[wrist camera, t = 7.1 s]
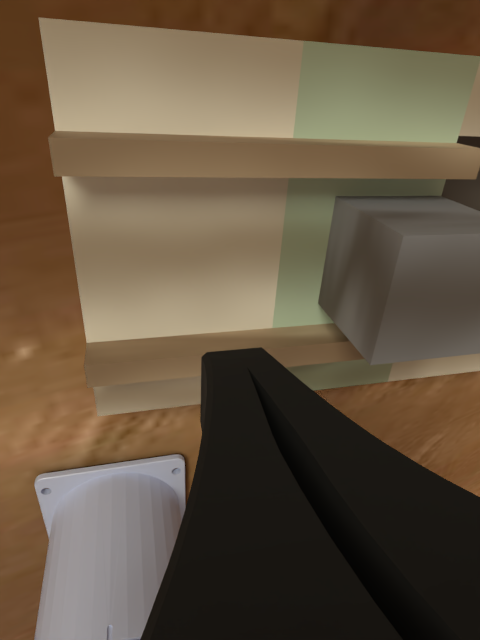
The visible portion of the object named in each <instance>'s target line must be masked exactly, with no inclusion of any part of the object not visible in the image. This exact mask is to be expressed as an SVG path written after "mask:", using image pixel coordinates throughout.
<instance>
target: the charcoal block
mask: <svg viewBox="0 0 480 640" xmlns="http://www.w3.org/2000/svg"><path fill="white" fill-rule="evenodd" d="M318 304H319V305H320V306H321V308H322V309H323V310H324V311H325V312H326V313H327V315H328V316H329V317H330V318H331V319H332V321H333V322H334V323H335V324H336V325H337V326H338V328H339V329H340V330H341V331H342V332H343V333H344V335H345V336H346V337H347V338H348V339H349V341H350V342H351V343H352V344H353V345H354V346H355V348H356V349H357V350H358V351H359V352H360V354H361V355H362V356H363V357H364V358H365V359H366V361H367V362H368V363H369V364H370V365H377V364H387V363H396V362H405V361H414V360H424V359H433V358H442V357H452V356H461V355H470V354H479V353H480V211H477V210H475V209H472V208H470V207H467V206H465V205H462V204H460V203H457V202H455V201H452V200H450V199H447V198H445V197H442V196H336V197H335V203H334V209H333V215H332V221H331V227H330V233H329V239H328V245H327V251H326V257H325V264H324V270H323V276H322V282H321V288H320V294H319V300H318Z"/></svg>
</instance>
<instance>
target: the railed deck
mask: <svg viewBox="0 0 480 640" xmlns="http://www.w3.org/2000/svg"><path fill="white" fill-rule="evenodd" d="M39 24H40V31H41V38H42V45H43V51H44V58H45V65H46V72H47V78H48V85H49V92H50V99H51V105H52V112H53V119H54V125H55V132H54V133H52V134H51V135H50V136H49V137H48V140H49V146H50V153H51V159H52V165H53V172H54V176H62V179H63V186H64V193H65V200H66V206H67V213H68V220H69V226H70V233H71V240H72V247H73V253H74V260H75V267H76V274H77V280H78V287H79V294H80V301H81V307H82V314H83V321H84V327H85V334H86V341H87V345H86V354H85V362H84V369H85V375H86V381H87V388H91V387H93V388H94V395H95V402H96V408H97V415H98V416H103V415H112V414H120V413H129V412H137V411H146V410H154V409H162V408H171V407H179V406H188V405H196V404H201V357H202V356H203V355H204V354H205V353H206V352H214V351H225V350H236V349H247V348H259V347H262V348H263V349H264V350H265V351H267V352H268V353H269V354H270V355H271V356H273V357H274V358H275V359H276V360H277V361H278V362H279V363H281V364H282V365H283V366H284V367H285V368H286V369H288V370H289V371H290V372H291V373H292V374H294V375H295V376H296V377H297V378H298V379H299V380H301V381H302V382H303V383H304V384H305V385H307V386H308V387H309V388H310V389H311V390H313V391H314V390H322V389H330V388H339V387H347V386H356V385H364V384H372V383H381V382H389V381H398V380H406V379H414V378H423V377H431V376H440V375H448V374H456V373H465V372H473V371H480V353H479V354H470V355H461V356H452V357H442V358H433V359H424V360H414V361H405V362H396V363H387V364H377V365H370V364H369V363H368V362H367V361H366V359H365V358H364V357H363V356H362V355H361V354H360V352H359V351H358V350H357V349H356V348H355V346H354V345H353V344H352V343H351V342H350V341H349V339H348V338H347V337H346V336H345V335H344V333H343V332H342V331H341V330H340V329H339V328H338V326H337V325H336V324H335V323H334V322H333V321H332V319H331V318H330V317H329V316H328V315H327V313H326V312H325V311H324V310H323V309H322V308H321V306H320V305H319V304H318V300H319V294H320V288H321V282H322V276H323V270H324V264H325V257H326V251H327V245H328V239H329V233H330V227H331V221H332V215H333V209H334V203H335V197H336V196H442V197H445V198H447V199H450V200H452V201H455V202H457V203H460V204H462V205H465V206H467V207H470V208H472V209H475V210H477V211H480V56H469V55H458V54H446V53H435V52H424V51H412V50H401V49H390V48H378V47H367V46H355V45H344V44H333V43H321V42H310V41H299V40H287V39H276V38H264V37H253V36H242V35H230V34H219V33H208V32H196V31H185V30H174V29H162V28H151V27H139V26H128V25H117V24H105V23H94V22H83V21H71V20H60V19H49V18H39Z"/></svg>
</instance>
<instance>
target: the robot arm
mask: <svg viewBox="0 0 480 640" xmlns="http://www.w3.org/2000/svg"><path fill="white" fill-rule="evenodd" d="M200 421H201V428H202V439H201V444H200V450H199V456H198V460H197V465H196V470H195V474H194V478H193V482H192V486H191V490H190V494H189V498H188V501H187V505H186V506H185V461H184V457H183V456H182V455H179V454H175V455H168V456H161V457H154V458H147V459H140V460H134V461H127V462H120V463H113V464H106V465H99V466H92V467H85V468H78V469H71V470H65V471H58V472H51V473H44V474H40V475H39V476H37V477H36V479H35V490H36V493H37V497H38V500H39V504H40V508H41V511H42V515H43V518H44V522H45V526H46V529H47V533H48V536H49V545H48V552H47V558H46V565H45V572H44V578H43V585H42V592H41V598H40V605H39V612H38V618H37V625H36V632H35V638H34V640H480V497H478V496H476V495H474V494H473V493H471V492H469V491H467V490H465V489H463V488H461V487H459V486H457V485H455V484H453V483H452V482H450V481H448V480H446V479H444V478H442V477H440V476H439V475H437V474H435V473H433V472H432V471H430V470H428V469H426V468H424V467H423V466H421V465H419V464H418V463H416V462H414V461H413V460H411V459H410V458H408V457H406V456H405V455H403V454H401V453H400V452H398V451H397V450H395V449H393V448H392V447H390V446H388V445H387V444H385V443H384V442H382V441H381V440H379V439H378V438H376V437H375V436H373V435H372V434H370V433H369V432H367V431H366V430H365V429H363V428H362V427H360V426H359V425H358V424H356V423H355V422H353V421H352V420H351V419H349V418H348V417H346V416H345V415H344V414H342V413H341V412H340V411H338V410H337V409H336V408H334V407H333V406H332V405H330V404H329V403H328V402H326V401H325V400H324V399H323V398H321V397H320V396H319V395H318V394H316V393H315V392H314V391H313V390H311V389H310V388H309V387H308V386H307V385H305V384H304V383H303V382H302V381H301V380H299V379H298V378H297V377H296V376H295V375H294V374H292V373H291V372H290V371H289V370H288V369H286V368H285V367H284V366H283V365H282V364H281V363H279V362H278V361H277V360H276V359H275V358H274V357H273V356H271V355H270V354H269V353H268V352H267V351H265V350H264V349H263V348H262V347H259V348H247V349H236V350H225V351H214V352H206V353H205V354H204V355H203V356H202V357H201V419H200ZM175 468H178V469H175ZM45 488H48V489H45Z"/></svg>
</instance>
